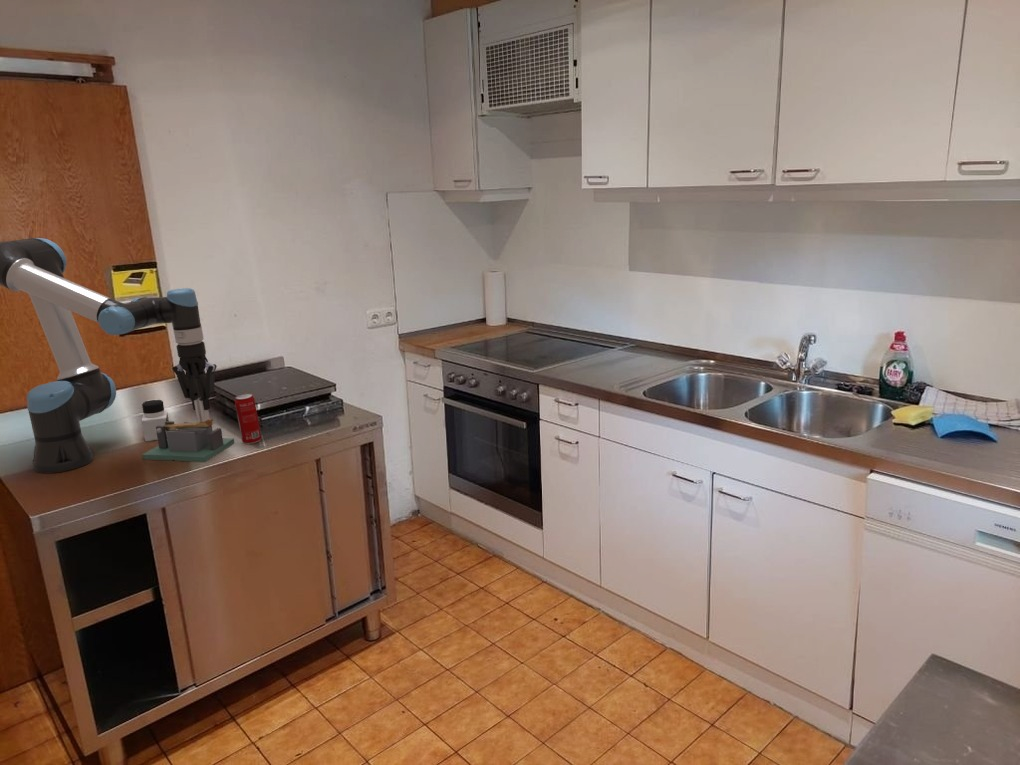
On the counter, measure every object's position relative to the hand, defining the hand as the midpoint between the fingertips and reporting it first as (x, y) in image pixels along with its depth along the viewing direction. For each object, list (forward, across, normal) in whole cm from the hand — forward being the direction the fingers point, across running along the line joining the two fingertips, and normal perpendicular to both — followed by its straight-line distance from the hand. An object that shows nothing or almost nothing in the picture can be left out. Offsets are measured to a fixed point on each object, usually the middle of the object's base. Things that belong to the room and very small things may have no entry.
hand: (203, 420), depth 221 cm
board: (+10, -6, 0) cm, 12 cm away
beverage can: (+11, +8, +10) cm, 17 cm away
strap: (+2, -6, 0) cm, 6 cm away
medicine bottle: (+9, -25, +11) cm, 29 cm away
